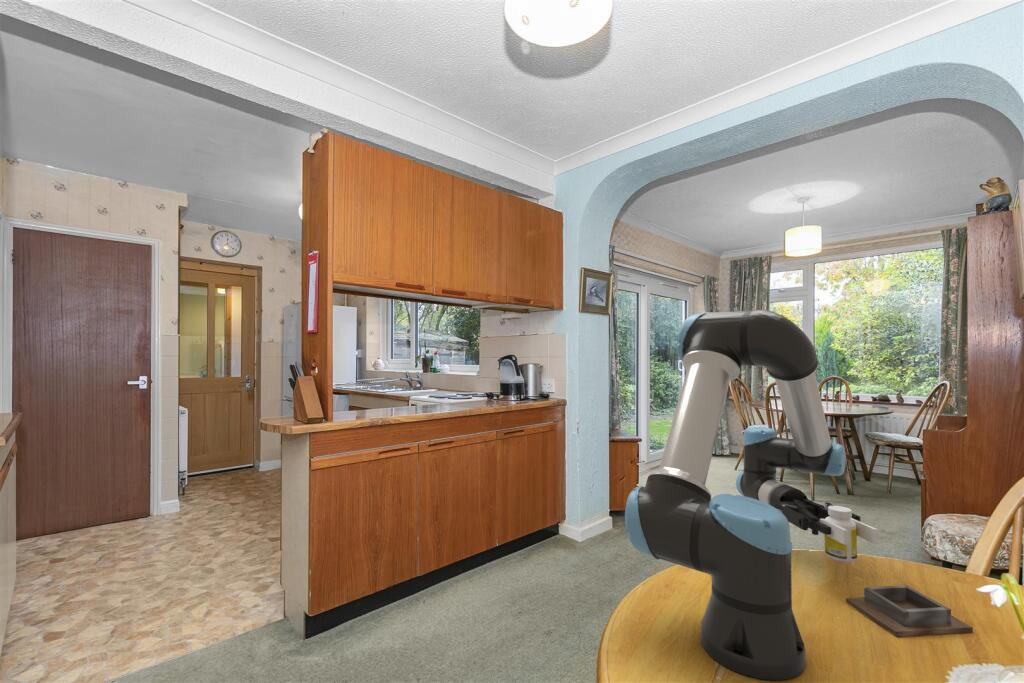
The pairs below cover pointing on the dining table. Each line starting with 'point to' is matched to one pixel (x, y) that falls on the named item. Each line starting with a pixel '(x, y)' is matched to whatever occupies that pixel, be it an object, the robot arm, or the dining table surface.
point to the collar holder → (907, 612)
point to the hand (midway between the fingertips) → (860, 536)
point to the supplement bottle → (849, 550)
